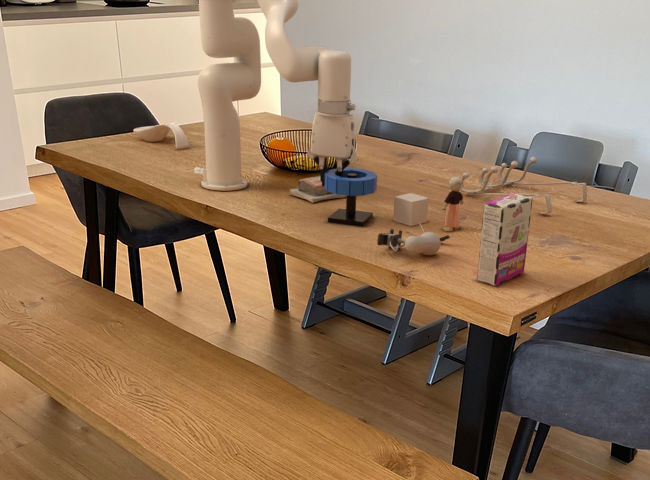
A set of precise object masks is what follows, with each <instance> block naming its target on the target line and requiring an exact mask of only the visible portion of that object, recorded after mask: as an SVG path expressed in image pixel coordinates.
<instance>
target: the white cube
mask: <svg viewBox="0 0 650 480" xmlns="http://www.w3.org/2000/svg"><path fill="white" fill-rule="evenodd" d="M429 200H430V198H429V197H426V196H423V195H419V194H416V193H413V192H409V193H405V194H401V195H400V194H399V195H396V196H394V199H393V201H394V202H393V216H392V217H393V218H392V221H394V222H397V223H400V224H403V225H405V226H409V227H413V226H415V225H416V226H417V225H420V224H421V225H422V224H424V223H428V214H429V213H428V212H429V203H430V202H429Z"/></svg>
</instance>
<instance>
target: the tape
mask: <svg viewBox="0 0 650 480" xmlns="http://www.w3.org/2000/svg"><path fill="white" fill-rule="evenodd" d="M335 171H337V168H331V169H329V170H328V171H327V172H325V185H324V188H325V189H326V190H327V191H328V192H331V193H334V194H338V195H347V196H349V195H350V196H356V197H357V196H359V197H360V196H362V197H363V196H367V195H373V194H374V193H375V192H376V191H377V188H378V174H377V173H376V172H375V171H371V170H369V169H364V168H355V167H346V168H345V169H344V170H343V177H340V176H336V174H335ZM349 173H354V174H357V178H347V174H349Z"/></svg>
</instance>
